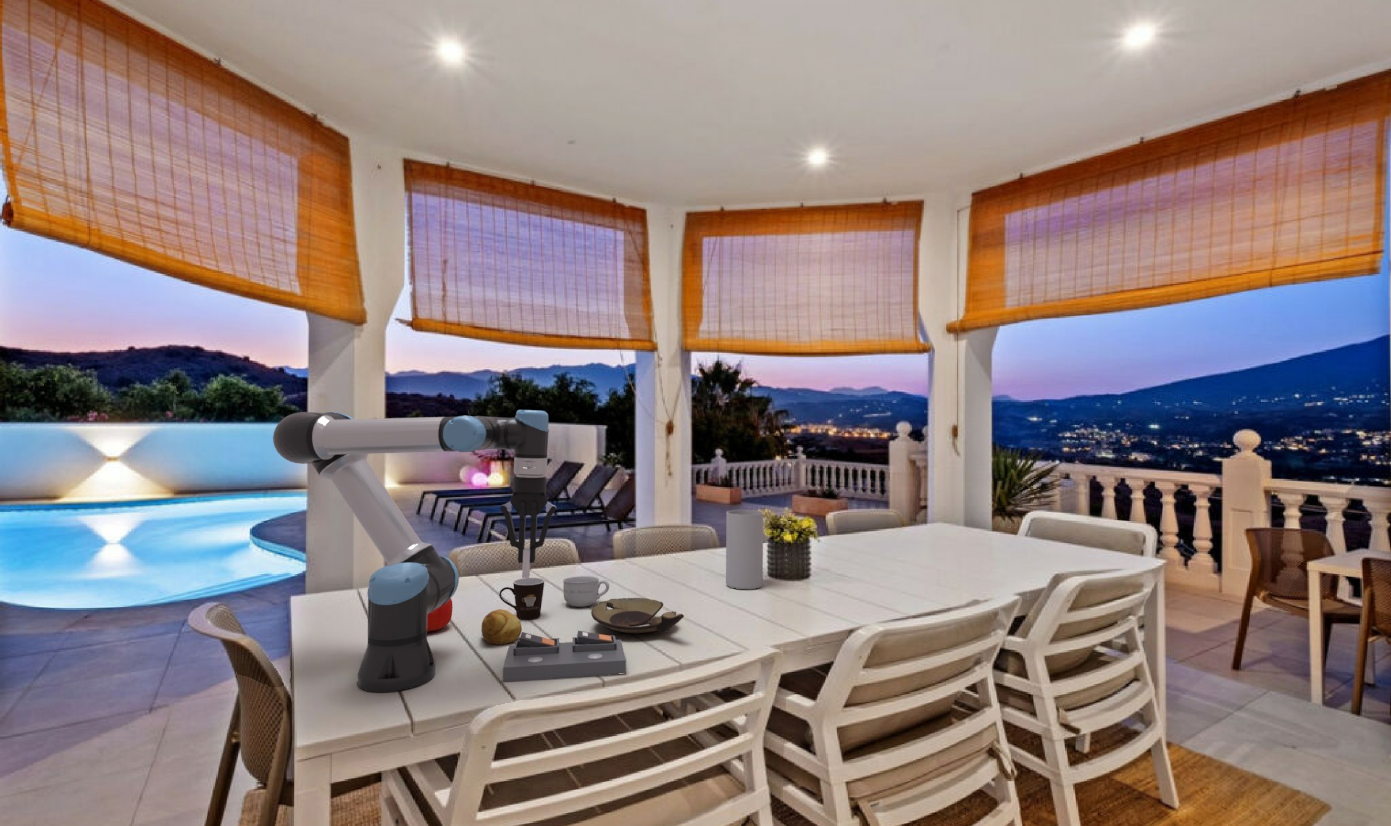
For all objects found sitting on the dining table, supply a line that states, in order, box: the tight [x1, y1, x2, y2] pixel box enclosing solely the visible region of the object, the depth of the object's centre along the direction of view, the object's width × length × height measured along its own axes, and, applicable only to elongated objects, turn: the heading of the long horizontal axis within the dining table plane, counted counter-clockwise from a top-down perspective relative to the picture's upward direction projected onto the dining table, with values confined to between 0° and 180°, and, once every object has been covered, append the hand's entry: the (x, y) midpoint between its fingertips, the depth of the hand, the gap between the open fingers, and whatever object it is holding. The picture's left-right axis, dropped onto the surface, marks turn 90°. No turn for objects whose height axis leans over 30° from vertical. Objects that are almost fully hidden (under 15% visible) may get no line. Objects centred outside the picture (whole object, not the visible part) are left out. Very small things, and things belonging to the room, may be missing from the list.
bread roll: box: [481, 608, 523, 645], centre depth 166 cm, size 13×10×8 cm
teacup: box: [562, 575, 610, 608], centre depth 198 cm, size 14×11×8 cm
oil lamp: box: [590, 597, 685, 634], centre depth 174 cm, size 22×30×8 cm
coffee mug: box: [499, 577, 545, 621], centre depth 185 cm, size 12×9×10 cm
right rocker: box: [576, 630, 613, 644], centre depth 152 cm, size 8×4×1 cm, turn 100°
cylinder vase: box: [725, 509, 764, 590], centre depth 223 cm, size 12×12×25 cm
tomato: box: [427, 597, 453, 633], centre depth 173 cm, size 14×13×10 cm
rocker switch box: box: [502, 635, 627, 683], centre depth 148 cm, size 26×14×4 cm, turn 101°
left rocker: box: [518, 631, 555, 647], centre depth 150 cm, size 8×4×1 cm, turn 100°
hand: (525, 576), depth 153 cm, fingers closed
